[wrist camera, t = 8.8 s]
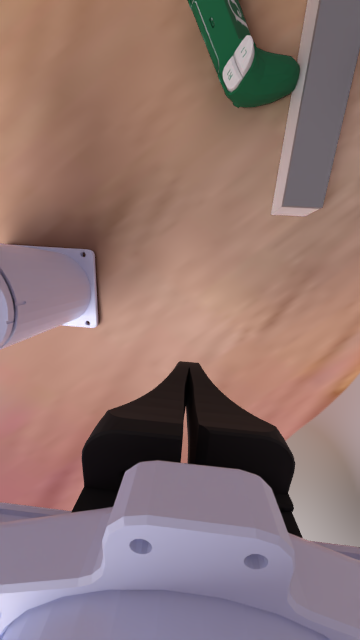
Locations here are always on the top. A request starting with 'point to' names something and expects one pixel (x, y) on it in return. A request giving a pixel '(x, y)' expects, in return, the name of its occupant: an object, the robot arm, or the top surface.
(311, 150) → the bar
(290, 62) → the gaming controller
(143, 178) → the top surface
